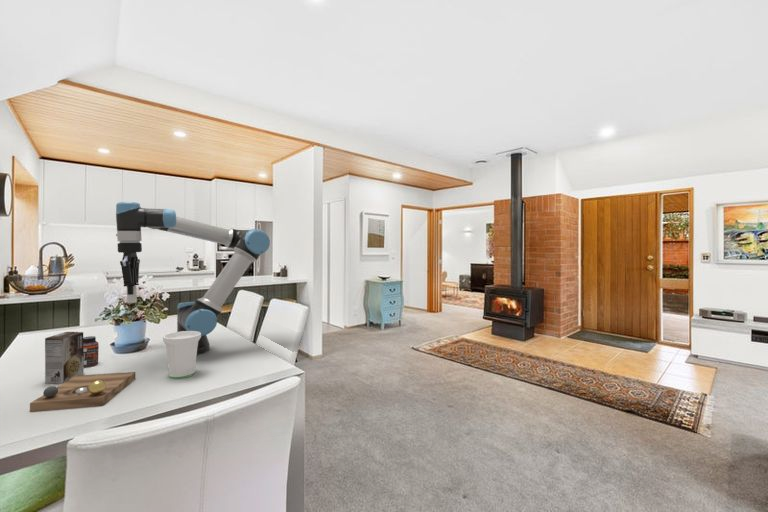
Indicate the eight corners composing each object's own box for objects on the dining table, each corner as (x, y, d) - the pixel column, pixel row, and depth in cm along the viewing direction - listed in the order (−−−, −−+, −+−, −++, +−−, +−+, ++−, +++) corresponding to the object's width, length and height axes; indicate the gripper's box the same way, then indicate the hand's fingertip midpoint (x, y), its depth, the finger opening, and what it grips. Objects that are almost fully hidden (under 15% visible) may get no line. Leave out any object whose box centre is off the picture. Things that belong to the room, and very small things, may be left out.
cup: (160, 383, 121) (161, 340, 121) (164, 371, 132) (164, 332, 132) (200, 377, 127) (200, 336, 126) (200, 367, 138) (201, 329, 138)
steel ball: (92, 389, 111) (88, 384, 108) (87, 399, 108) (83, 394, 106) (79, 391, 110) (75, 385, 108) (75, 401, 107) (70, 395, 105)
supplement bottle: (86, 368, 134) (87, 339, 134) (74, 366, 135) (74, 338, 135) (102, 363, 140) (102, 336, 140) (90, 362, 141) (90, 335, 141)
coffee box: (65, 374, 127) (66, 331, 127) (84, 374, 128) (84, 331, 128) (43, 384, 118) (43, 337, 118) (63, 383, 119) (63, 337, 118)
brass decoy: (108, 390, 108) (108, 377, 108) (101, 396, 104) (101, 382, 104) (92, 391, 107) (92, 378, 107) (84, 397, 103) (85, 383, 103)
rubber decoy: (60, 394, 105) (60, 383, 105) (53, 398, 102) (53, 388, 101) (47, 395, 104) (48, 384, 104) (40, 399, 101) (40, 389, 101)
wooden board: (76, 382, 120) (76, 375, 120) (135, 378, 124) (135, 371, 124) (29, 411, 99) (29, 403, 98) (103, 405, 103) (103, 397, 103)
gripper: (124, 242, 137) (127, 300, 138) (110, 242, 125) (113, 306, 126) (146, 242, 139) (149, 299, 140) (134, 242, 127) (137, 304, 128)
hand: (132, 302), depth 133 cm, fingers closed
